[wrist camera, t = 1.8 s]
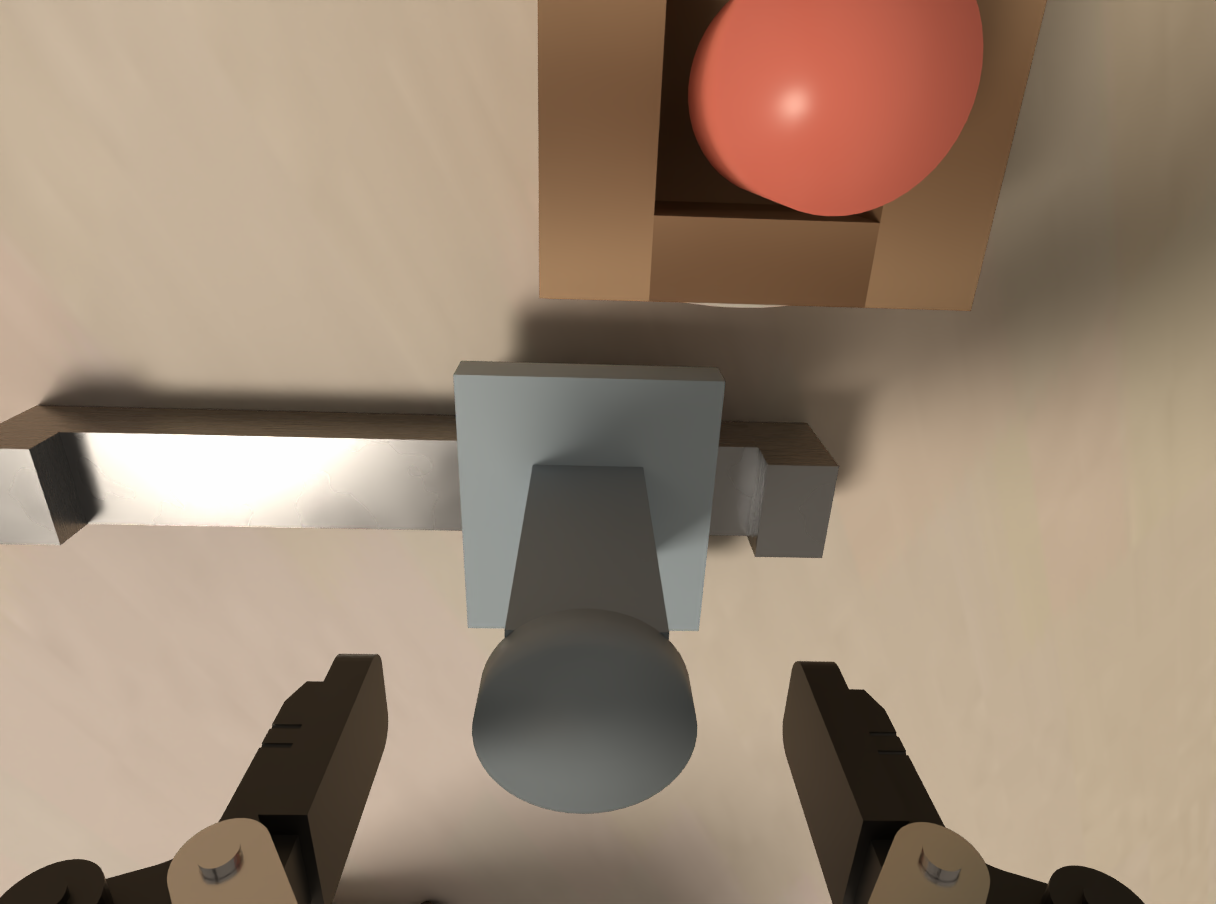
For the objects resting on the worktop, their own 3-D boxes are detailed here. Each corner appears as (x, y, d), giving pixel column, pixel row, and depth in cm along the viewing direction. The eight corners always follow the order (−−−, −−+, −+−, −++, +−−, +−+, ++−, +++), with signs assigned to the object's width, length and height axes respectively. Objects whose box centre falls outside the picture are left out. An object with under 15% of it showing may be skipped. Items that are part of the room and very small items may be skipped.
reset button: (696, -34, 11) (733, -89, 8) (906, -24, 11) (1015, -77, 8) (681, 193, 12) (707, 212, 9) (868, 199, 12) (949, 220, 9)
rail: (36, 405, 22) (-48, 447, 19) (806, 423, 23) (839, 466, 20) (64, 491, 23) (-12, 544, 20) (793, 505, 24) (821, 557, 21)
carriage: (472, 339, 21) (362, 538, 11) (706, 346, 21) (813, 545, 11) (483, 566, 25) (405, 883, 14) (685, 570, 25) (753, 883, 14)
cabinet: (559, -60, 17) (536, -196, 10) (882, -45, 18) (1087, -167, 10) (557, 252, 20) (539, 319, 13) (833, 260, 21) (965, 331, 13)
